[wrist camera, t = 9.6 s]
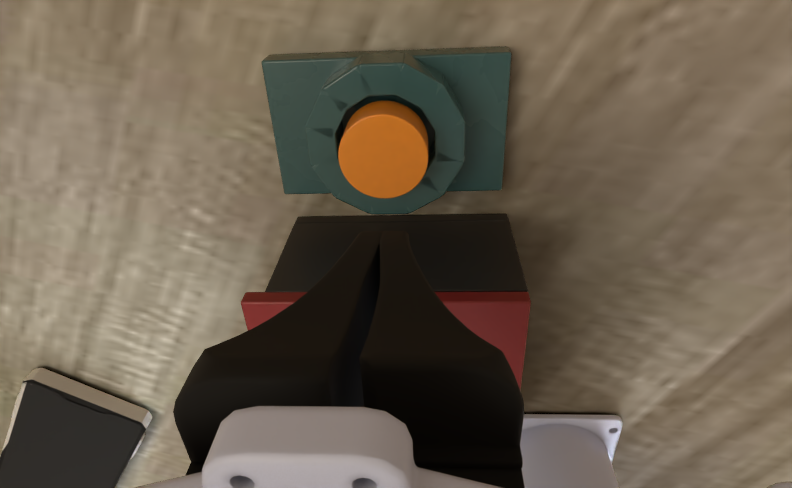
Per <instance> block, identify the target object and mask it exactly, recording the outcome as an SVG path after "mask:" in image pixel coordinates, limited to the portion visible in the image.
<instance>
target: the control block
mask: <svg viewBox="0 0 792 488" xmlns="http://www.w3.org/2000/svg"><path fill="white" fill-rule="evenodd" d="M511 55H512V54H511V52H510V50H509V49H508V47H506V46H505V47H477V48H449V49H420V50H392V51H364V52H335V53H307V54H279V55H269V56H267V57H266V58H265V59H264V60H263V61H262V68H263V73H264V79H265V85H266V91H267V96H268V102H269V108H270V114H271V119H272V125H273V131H274V136H275V142H276V148H277V154H278V159H279V165H280V171H281V177H282V182H283V188H284V193H285V194H316V193H332V194H333V196H334V197H336V198H337V199H339V200H341V201H343V202H346V203H348V204H350V205H352V206H354V207H356V208H358V209H360V210H362V211H365V212H367V213H371V214H408V213H411V212H413V211H415V210H417V209H419V208H421V207H423V206H424V205H426V204H428V203H430V202H432V201H434V200H436V199H438V198H439V197H441V196H442V195H444V194H445V192H446V191H487V190H501V189H502V182H503V168H504V154H505V140H506V126H507V112H508V98H509V83H510V69H511ZM383 100H385V101H394V102H398V103H401V104H403V105H405V106H407V107H409V108H410V109H412V110H413V111H414V112H415V113H416V114H417V115H418V116H419V117H420V119H421V120H422V121H423V123H424V125H425V128H426V130H427V134H428V166H427V169H426V172H425V174H424V176H423V178H422V180H421V181H420V182H419V184H418V185H417V186H416V187H414V188H413V189H412V190H411V191H409V192H407V193H406V194H403V195H401V196H398V197H394V198H375V197H371V196H368V195H366V194H363V193H362V192H360V191H358V190H357V189H356V188H354V187H353V186H352V185H351V184H350V183H349V182H348V181H347V179H346V178H345V176H344V175H343V173H342V170H341V168H340V165H339V159H338V150H339V145H340V141H341V139H342V136H343V134H344V131H345V128H346V126H347V123H348V122H349V120H350V118H351V117H352V116H353V114H354V113H355V112H356V111H357V110H359V109H360V108H361V107H363V106H365V105H367V104H369V103H372V102H376V101H383Z"/></svg>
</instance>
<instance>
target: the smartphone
mask: <svg viewBox="0 0 792 488" xmlns="http://www.w3.org/2000/svg"><path fill="white" fill-rule="evenodd" d="M152 417H153V416H152V415H151V413H150V412H149V410H146V409H144V408H141V407H139V406H136V405H134V404H131V403H129V402H126V401H124V400H121V399H119V398H116V397H114V396H112V395H109V394H107V393H104V392H102V391H99V390H97V389H94V388H92V387H89V386H87V385H84V384H82V383H79V382H77V381H74V380H72V379H69V378H67V377H64V376H62V375H59V374H57V373H54V372H52V371H49V370H47V369H44V368H37V369H33V370H32V371H31V373H30V374H29V375H28V376H27V377H25V378H24V380H23V382H22V385H21V390H20V392H19V393H18V396H17V399H16V402H15V406H14V409H13V412H12V416H11V418H12V420H11V423H10V427H9V430H8V433H7V437H6V440H5V443H4V447H3V450H2V453H1V457H0V488H115V486H116V484H117V482H118V480H119V479H120V477H121V475H122V473H123V471H124V469H125V467H126V466H127V464H128V462H129V460H130V458H131V459H133V457H134V455H135V453H136V452H137V450H138V448H139V446H140V444H141V442H142V441H143V439H144V437H145V435H146V434H144V432H145V430H146V429H147V427H148V425H149V423H150V421H151V419H152Z"/></svg>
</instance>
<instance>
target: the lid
mask: <svg viewBox="0 0 792 488" xmlns="http://www.w3.org/2000/svg"><path fill="white" fill-rule="evenodd" d="M306 293H307V292H246V293H245V295H244V297H243V299H242V301H241V305H242V309H243V313H244V317H245V321H246V325H247V329H248V331H249V330H251V329H253V328H254V327H256V326H258V325H260V324H262V323H264V322H265V321H267V320H269V319H270V318H272V317H273V316H275V315H277V314H278V313H280V312H281V311H283V310H284V309H286V308H287V307H289V306H290V305H292V304H293V303H294V302H296V301H297V300H298V299H299V298H301V297H302V296H303V295H304V294H306ZM435 293H436V295H437V296H438V297H439V299H440V300H441V301H442V302H443V304H444V305H445V306H446V307H447V308H448V309H449V310H450V312H451V313H452V314H453V315H454V316H455V317H456V318H457V319H459V320H460V321H461V322H462V323H463V324H464V325H465V326H466V327H467V328H468V329H470V330H471V331H472V332H473V333H475V334H476V335H477V336H479V337H480V338H482V339H484V340H485V341H487V342H488V343H490V344H492V345H493V346H495V347H497V348H498V349H500V350H501V351H502V352H503V353H504V355H505V357H506V359H507V361H508V363H509V365H510V367H511V369H512V371H513V373H514V375H515V378H516V380H517V383H518V386H519V388H520V391H521V382H522V374H523V366H524V357H525V349H526V340H527V332H528V323H529V315H530V306H531V301H530V297H529V293H528V292H435Z"/></svg>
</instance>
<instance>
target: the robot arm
mask: <svg viewBox="0 0 792 488" xmlns="http://www.w3.org/2000/svg"><path fill="white" fill-rule="evenodd" d="M173 413H174V417H175V422H176V425H177V428H178V430H179V433H180V435H181V438H182V440H183V443H184V445H185V448H186V450H187V453H188V455H189V458H190V460H191V464H190V466H189V469H188V471H187V473H186V476H182V477H177V478H173V479H169V480H165V481H160V482H156V483H152V484H147V485H143V486H139V487H135V488H620V487H619V484H618V481H617V478H616V475H615V472H614V469H613V466H612V461H613V457H614V454H615V450H616V447H617V443H618V439H619V436H620V432H621V429H622V425H623V422H622V420H621V418H620V417H619V416H617V415H568V414H524V403H523V398H522V394H521V391H520V388H519V386H518V383H517V380H516V378H515V375H514V373H513V371H512V369H511V367H510V365H509V363H508V361H507V359H506V357H505V355H504V353H503V352H502V351H501V350H500V349H498V348H497V347H495V346H493V345H492V344H490V343H488V342H487V341H485V340H484V339H482V338H480V337H479V336H477V335H476V334H475V333H473V332H472V331H471V330H470V329H468V328H467V327H466V326H465V325H464V324H463V323H462V322H461V321H460V320H459V319H457V318H456V317H455V316H454V315H453V314H452V313H451V312H450V310H449V309H448V308H447V307H446V306H445V305H444V304H443V302H442V301H441V300H440V299H439V297H438V296H437V295H436V293H435V292H434V291H433V289H432V288H431V286H430V285H429V283H428V281H427V280H426V278H425V277H424V275H423V273H422V271H421V269H420V267H419V265H418V263H417V261H416V259H415V257H414V254H413V252H412V249H411V246H410V242H409V234H408V233H407V232H406V231H361V232H360V233H359V234H358V235H357V237H356V238H355V239H354V241H353V242H352V243H351V245H350V246H349V247H348V249H347V250H346V251H345V252H344V254H343V255H342V256H341V257H340V259H339V260H338V261H337V262H336V263H335V264H334V266H333V267H332V268H331V269H330V270H329V271H328V272H327V273H326V274H325V275H324V276H323V277H322V278H321V279H320V280H319V281H318V282H317V283H316V284H315V285H314V286H313V287H312V288H311V289H310V290H309V291H308V292H307V293H306V294H304V295H303V296H302V297H301V298H299V299H298V300H297V301H296V302H294V303H293V304H292V305H290V306H289V307H287V308H286V309H284V310H283V311H281V312H280V313H278V314H277V315H275V316H273V317H272V318H270V319H269V320H267V321H265V322H264V323H262V324H260V325H258V326H256V327H254V328H253V329H251V330H249V331H247V332H245V333H243V334H241V335H238V336H236V337H234V338H232V339H229V340H227V341H224V342H222V343H220V344H217V345H215V346H212V347H210V348H207V349H205V350H204V351H203V353H202V355H201V356H200V358H199V359H198V360H197V362H196V363H195V365H194V367H193V369H192V370H191V372H190V374H189V376H188V378H187V380H186V382H185V384H184V386H183V387H182V389H181V391H180V393H179V395H178V397H177V399H176V401H175V406H174V411H173ZM767 488H792V482H781V483H775V484H773V485H771V486H768V487H767Z"/></svg>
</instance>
